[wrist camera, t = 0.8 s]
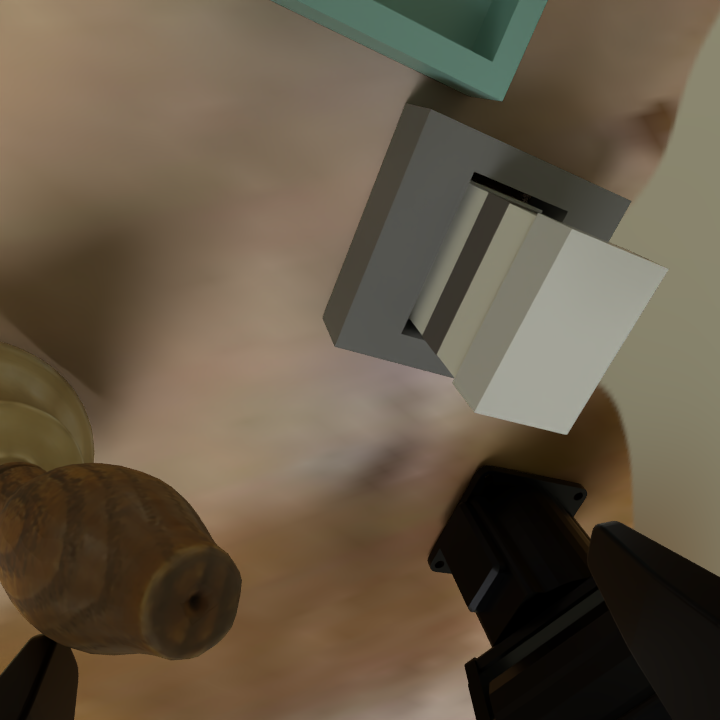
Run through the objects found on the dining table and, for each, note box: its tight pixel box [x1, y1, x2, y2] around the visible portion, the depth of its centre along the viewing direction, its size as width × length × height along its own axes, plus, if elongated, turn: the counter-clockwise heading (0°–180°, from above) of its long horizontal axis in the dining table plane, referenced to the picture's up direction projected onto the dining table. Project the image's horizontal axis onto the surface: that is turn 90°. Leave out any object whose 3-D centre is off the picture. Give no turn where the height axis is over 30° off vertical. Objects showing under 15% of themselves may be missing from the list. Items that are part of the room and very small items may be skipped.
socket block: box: [323, 103, 631, 378], centre depth 21 cm, size 8×8×2 cm
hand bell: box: [0, 342, 242, 660], centre depth 12 cm, size 8×8×16 cm
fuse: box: [408, 180, 668, 435], centre depth 18 cm, size 3×5×8 cm, turn 158°
